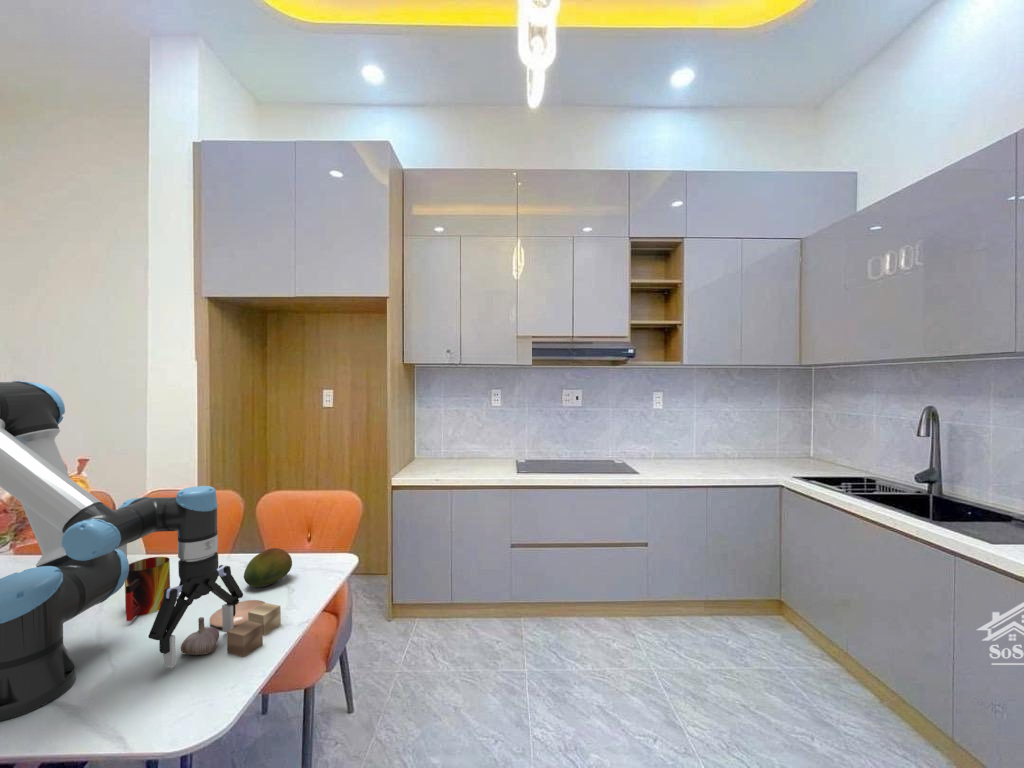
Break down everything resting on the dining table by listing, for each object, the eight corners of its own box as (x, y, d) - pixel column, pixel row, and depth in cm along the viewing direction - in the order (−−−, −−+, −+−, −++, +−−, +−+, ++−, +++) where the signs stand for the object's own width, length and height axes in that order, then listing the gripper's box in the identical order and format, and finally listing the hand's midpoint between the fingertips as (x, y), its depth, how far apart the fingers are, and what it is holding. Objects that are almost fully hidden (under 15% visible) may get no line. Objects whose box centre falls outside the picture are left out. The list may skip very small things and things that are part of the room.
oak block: (264, 636, 110) (263, 615, 110) (248, 632, 112) (248, 612, 112) (280, 625, 115) (280, 605, 115) (265, 621, 117) (265, 602, 117)
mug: (126, 626, 115) (125, 579, 115) (124, 606, 125) (123, 563, 125) (174, 613, 121) (173, 568, 121) (168, 595, 132) (167, 553, 132)
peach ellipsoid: (235, 634, 111) (235, 629, 111) (197, 625, 115) (197, 620, 115) (278, 608, 123) (278, 604, 123) (243, 601, 127) (243, 597, 127)
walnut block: (243, 657, 102) (243, 635, 102) (227, 653, 103) (227, 631, 103) (262, 645, 107) (262, 624, 106) (246, 641, 108) (246, 620, 108)
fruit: (298, 576, 143) (297, 544, 143) (270, 595, 131) (270, 560, 131) (265, 573, 145) (265, 542, 145) (235, 592, 133) (234, 558, 133)
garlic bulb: (220, 653, 103) (219, 619, 103) (180, 666, 99) (179, 629, 99) (218, 638, 109) (218, 605, 109) (181, 649, 105) (180, 615, 105)
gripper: (150, 581, 91) (153, 686, 91) (258, 538, 114) (259, 622, 115) (125, 576, 93) (128, 678, 94) (236, 535, 117) (237, 617, 117)
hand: (200, 647), depth 104 cm, fingers open, 13 cm apart
